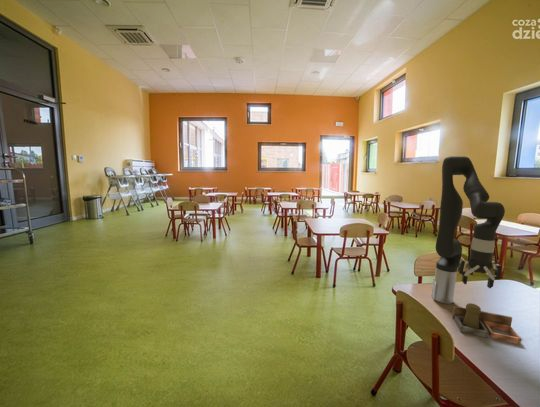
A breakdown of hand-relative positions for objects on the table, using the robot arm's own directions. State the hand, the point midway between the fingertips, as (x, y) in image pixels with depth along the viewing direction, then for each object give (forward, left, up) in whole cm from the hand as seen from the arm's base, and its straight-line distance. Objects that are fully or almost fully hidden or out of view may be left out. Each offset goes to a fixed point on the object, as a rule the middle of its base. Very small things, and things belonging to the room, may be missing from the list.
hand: (476, 285), depth 112 cm
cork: (0, 0, -20) cm, 20 cm away
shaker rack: (+5, 0, -20) cm, 21 cm away
